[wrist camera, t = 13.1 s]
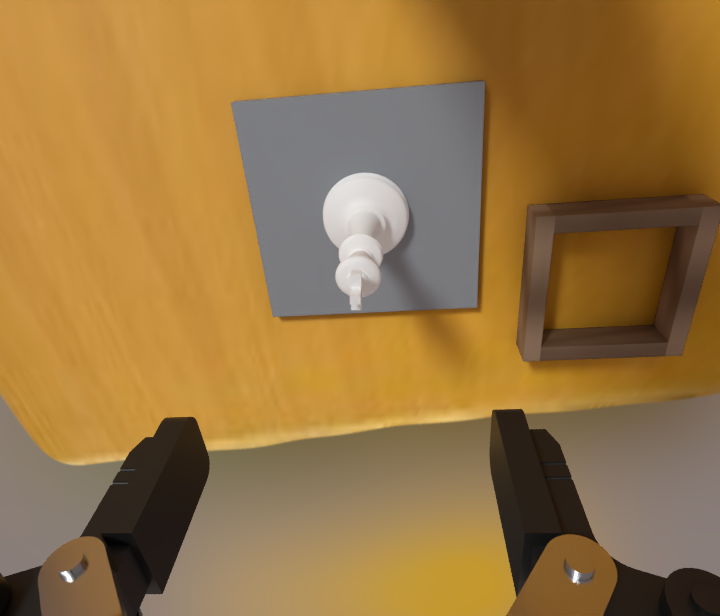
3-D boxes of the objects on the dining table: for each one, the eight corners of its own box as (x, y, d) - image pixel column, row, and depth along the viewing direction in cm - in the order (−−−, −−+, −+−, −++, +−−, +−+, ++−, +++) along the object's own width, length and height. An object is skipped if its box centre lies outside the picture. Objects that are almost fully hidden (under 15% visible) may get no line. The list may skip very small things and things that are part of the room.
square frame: (527, 204, 29) (536, 217, 27) (703, 193, 28) (724, 205, 26) (516, 343, 34) (523, 361, 32) (666, 337, 33) (682, 355, 31)
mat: (234, 101, 27) (230, 103, 26) (483, 80, 26) (485, 81, 25) (274, 312, 33) (272, 316, 33) (475, 302, 32) (477, 307, 32)
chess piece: (410, 172, 28) (419, 244, 19) (407, 255, 30) (413, 352, 22) (321, 171, 28) (289, 242, 19) (324, 254, 30) (298, 349, 22)
